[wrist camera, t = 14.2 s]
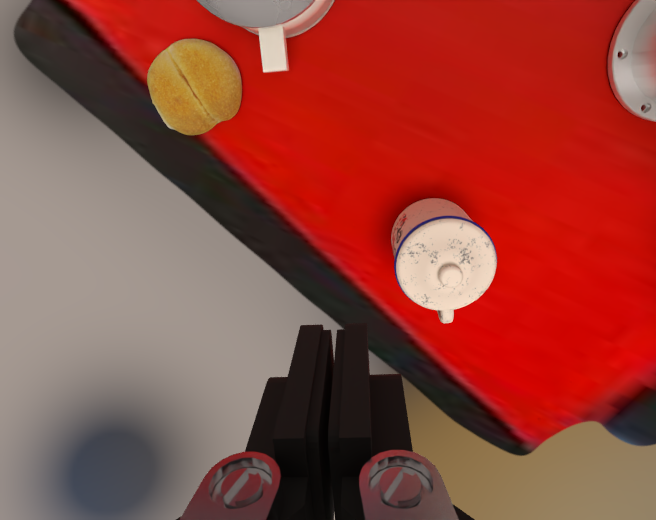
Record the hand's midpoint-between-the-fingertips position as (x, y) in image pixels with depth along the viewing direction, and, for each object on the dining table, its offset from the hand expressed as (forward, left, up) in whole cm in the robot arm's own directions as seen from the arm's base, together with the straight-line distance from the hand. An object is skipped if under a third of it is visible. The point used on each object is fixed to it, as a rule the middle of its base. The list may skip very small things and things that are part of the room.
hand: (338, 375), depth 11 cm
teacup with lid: (-8, +10, -37) cm, 39 cm away
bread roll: (+15, -8, -38) cm, 41 cm away
